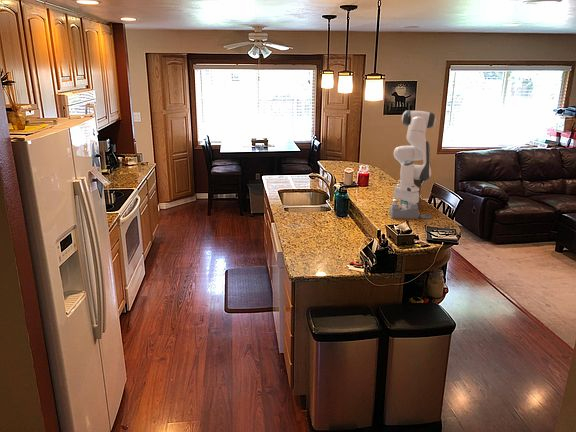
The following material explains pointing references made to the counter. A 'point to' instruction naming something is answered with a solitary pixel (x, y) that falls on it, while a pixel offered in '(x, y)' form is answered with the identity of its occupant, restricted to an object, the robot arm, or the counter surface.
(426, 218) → the mat
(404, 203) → the cartridge
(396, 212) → the housing
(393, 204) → the plunger
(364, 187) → the counter surface
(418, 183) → the grey upright box
